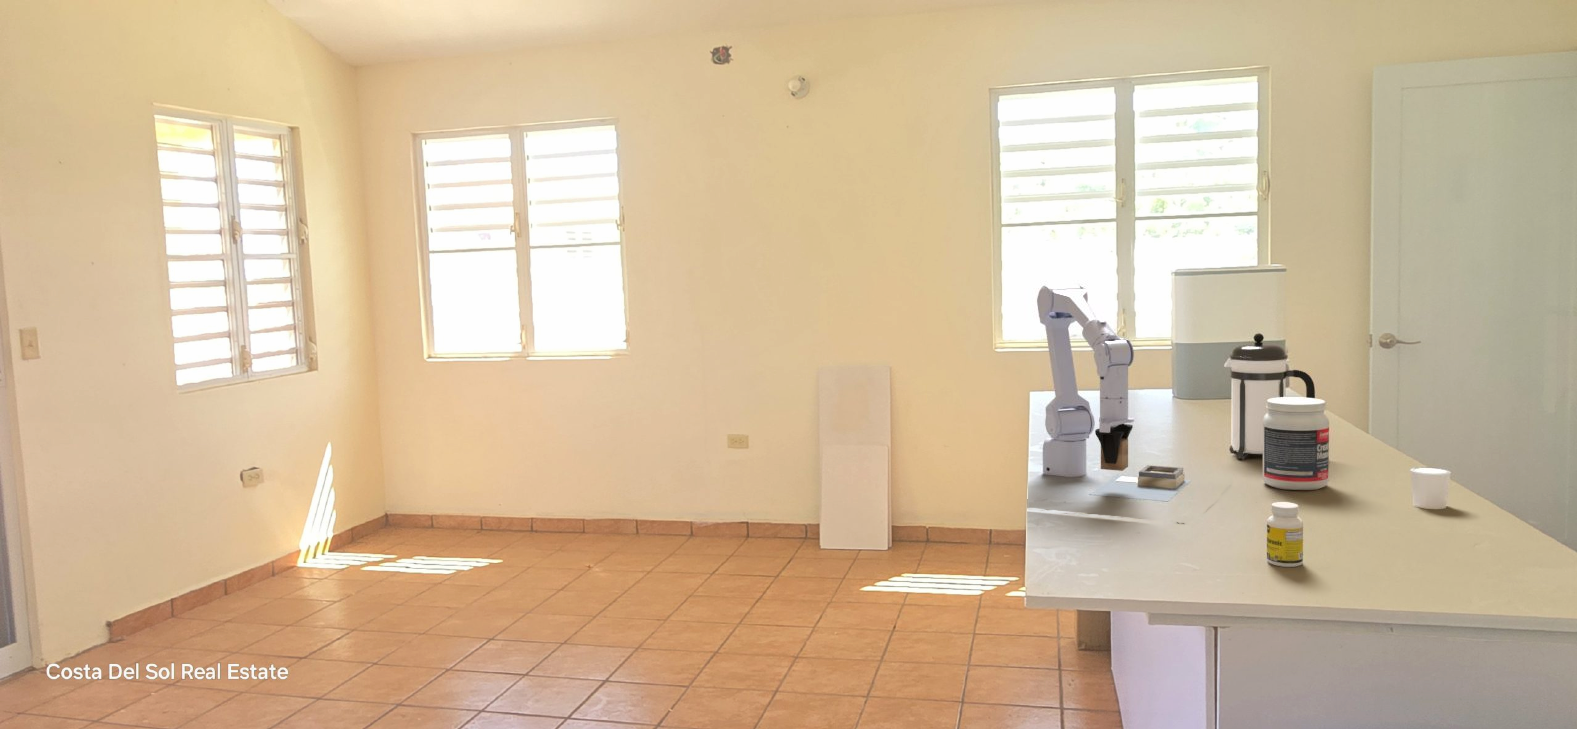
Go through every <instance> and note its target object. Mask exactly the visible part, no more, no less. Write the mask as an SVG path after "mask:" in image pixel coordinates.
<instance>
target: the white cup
mask: <svg viewBox="0 0 1577 729" xmlns="http://www.w3.org/2000/svg"><path fill="white" fill-rule="evenodd" d="M1409 473H1410V484H1411V496H1412V498H1411V499H1412V506H1414V507H1416V508H1421V509H1426V510H1427V509H1428V510H1441V509H1446V508H1447V504H1448V496H1449V490H1450V482H1451V476H1452V475H1451V474H1452V472H1451V471H1450V470H1448V469H1444V468H1437V467H1429V466H1427V467H1426V466H1423V467H1412V468H1410V471H1409Z"/></svg>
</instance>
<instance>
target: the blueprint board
mask: <svg viewBox="0 0 1577 729" xmlns="http://www.w3.org/2000/svg"><path fill="white" fill-rule="evenodd" d="M1185 477H1186V476H1185V471H1184V467H1180V466H1179V467H1177V466H1163V465H1153V464H1152V465H1151V464H1150V465H1149V464H1147V465H1146V466H1145V467H1143V468H1142V469H1141V470H1139V471H1138V474H1137V475H1134V474H1124V473H1121V474H1120V473H1117V474H1116V475H1114V476H1113V477H1112V478H1110V479H1109V480H1107V481H1105V482H1104V483H1103V484H1102V485H1100V486H1099V487H1097V488H1096V489H1095V490H1093V491H1092V492H1090V493H1089V494H1088V495H1090V496H1097V497H1098V496H1101V497H1111V498H1112V497H1113V498H1121V499H1133V500H1134V499H1135V500H1143V501H1146V500H1147V501H1157V502H1169V501H1171V500H1172V498H1173V497H1175V496H1176V495H1177V493H1179V492H1180V491H1181V490H1182V489H1183V488H1185V486H1187V485H1188V484H1189V483H1190V482H1191V481H1192V479H1190V478H1189V479H1188V478H1187V479H1185Z"/></svg>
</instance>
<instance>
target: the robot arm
mask: <svg viewBox="0 0 1577 729" xmlns="http://www.w3.org/2000/svg"><path fill="white" fill-rule="evenodd" d="M1088 298H1089V297H1088V291H1087V290H1086V288H1085V286H1084V285H1083V284H1081V283H1076V284H1066V285H1063V284H1062V285H1050V286H1048V285H1042V287H1041V288H1040V289H1039V291H1038V294H1037V298H1036V304H1037V311H1038V318H1039V323H1040V324H1042V325H1043V326H1044V327H1045V332H1046V339H1047V340H1046V341H1047V348H1048V352H1049V355H1048V356H1049V360H1050V367H1051V375H1052V382H1053V388H1054V395H1055V396H1054V398H1053V399H1052V400H1051V401H1050V402H1049V403H1048V404H1047V405H1046V406H1045V419H1044V420H1045V421H1044V422H1045V423H1044V426H1045V430H1046V432H1047V434H1048V435H1049V437H1046V438H1045V439H1044V441H1043V445H1042V475H1048V476H1051V475H1052V476H1061V477H1067V478H1068V477H1070V478H1071V477H1072V478H1074V477H1083V476H1086V475H1087V439H1090V436H1091V434H1092V433H1093V431H1094V429H1095V417H1094V414H1093V412H1092V409H1091V404H1090V402H1089V401H1088V400H1087V399H1086V398H1084V397H1082V396H1081V395H1080V394H1079V392H1078V384H1077V379H1076V373H1075V372H1076V371H1075V364H1074V359H1073V352H1072V351H1073V350H1072V345H1071V339H1070V332H1069V328H1070V325H1071V324H1073V323H1075V322H1077V323H1078V325H1080V327H1082V330H1081V331H1082V332H1081V334H1082V337H1083V339H1084V340H1085V341H1086V342H1087V344H1088V345H1089V347H1090V348H1091V349H1092V351H1093V352H1094V353H1093V358H1094V362H1095V366H1096V373H1097V376H1099V417H1098V421H1099V428H1096V429H1095V431H1094V433H1095V435H1096V438H1097V439H1098V441H1099V443H1100V448H1101V447H1102V450H1103V455H1104V459H1105V462H1106V463H1112V464H1116V462H1117V458H1118V450H1119V445H1120V441H1121V438H1123V439H1128V440H1129V436H1130V435H1131V432H1132V429H1133V426H1134V425H1133V424H1129V423H1134V422H1135V418H1134V417H1129V367H1130V366H1131V365H1132V364H1133V362H1134V359H1135V352H1134V347H1133V345H1132V343H1131V341H1130V340H1129V339H1128V338H1123V337H1119V336H1118V335H1117V333H1116V332H1114V330H1113V329H1112V327H1111V326H1110V325H1109V324H1108V323H1107V321H1106V320H1105V319H1104V318H1098V317H1097V316H1096V314H1095V313H1094V312H1093V310H1092V308H1091V306H1090V305H1089V303H1088ZM1127 423H1128V424H1127Z"/></svg>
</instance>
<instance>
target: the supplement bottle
mask: <svg viewBox="0 0 1577 729" xmlns="http://www.w3.org/2000/svg"><path fill="white" fill-rule="evenodd" d="M1271 514H1272V515H1271V516H1269V517H1268V518H1267V520H1266V560H1267V561H1266V562H1268V564H1270V565H1274V566H1276V567H1281V568H1294V567H1295V568H1296V567H1300V566H1302V565H1303V562H1304V522H1303V520H1302V519H1301V517H1299V516H1298V515H1299V505H1298V504H1297V503H1293V502H1288V501H1277V502H1273V503H1271Z"/></svg>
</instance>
